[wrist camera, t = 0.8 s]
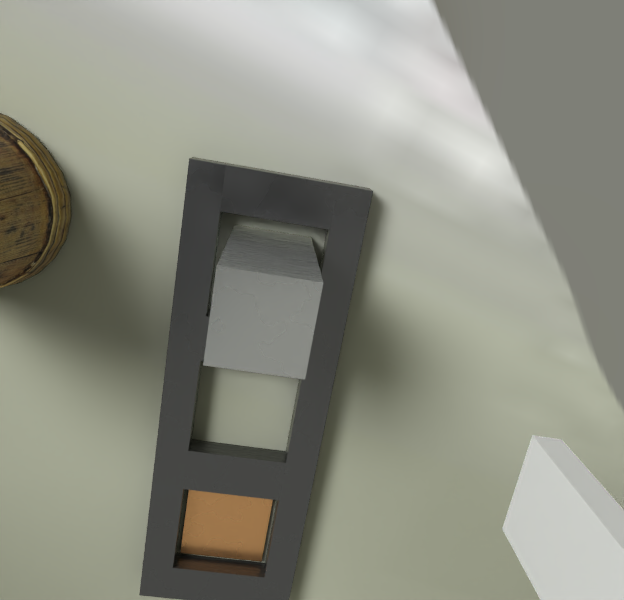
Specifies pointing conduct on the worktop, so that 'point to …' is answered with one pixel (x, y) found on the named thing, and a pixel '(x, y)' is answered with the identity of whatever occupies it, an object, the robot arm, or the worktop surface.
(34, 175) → the wooden mug
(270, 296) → the steel peg
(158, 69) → the worktop surface
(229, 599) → the dark grey slotted board
